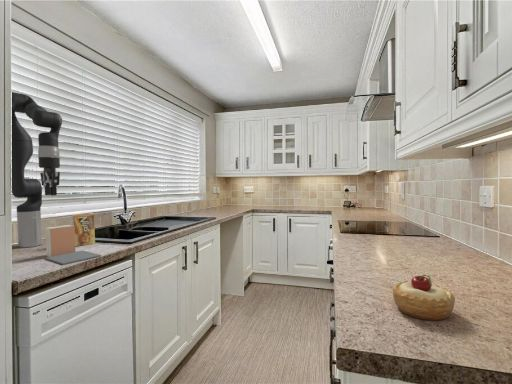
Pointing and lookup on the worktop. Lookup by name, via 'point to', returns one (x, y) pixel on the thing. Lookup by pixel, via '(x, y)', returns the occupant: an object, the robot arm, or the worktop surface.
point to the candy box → (84, 229)
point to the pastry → (423, 299)
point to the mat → (72, 257)
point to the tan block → (60, 240)
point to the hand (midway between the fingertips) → (50, 195)
